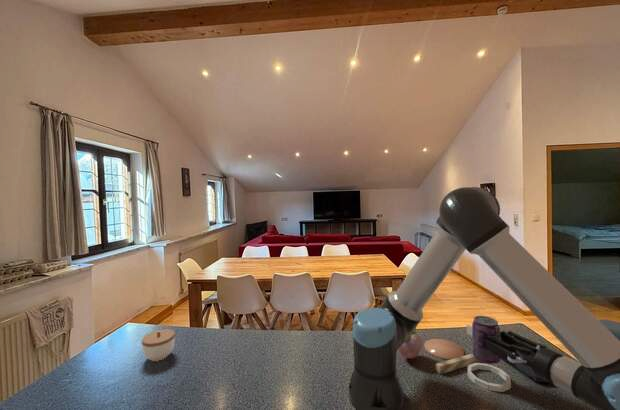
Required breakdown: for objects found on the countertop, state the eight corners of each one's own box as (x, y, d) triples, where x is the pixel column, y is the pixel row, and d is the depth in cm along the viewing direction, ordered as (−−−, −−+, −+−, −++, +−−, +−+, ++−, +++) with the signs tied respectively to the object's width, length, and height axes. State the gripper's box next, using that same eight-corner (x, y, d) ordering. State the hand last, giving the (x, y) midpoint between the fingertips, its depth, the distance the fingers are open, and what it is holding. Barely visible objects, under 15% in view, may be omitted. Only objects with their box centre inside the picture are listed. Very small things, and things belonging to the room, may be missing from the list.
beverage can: (492, 352, 88) (492, 315, 87) (505, 366, 81) (505, 326, 80) (468, 351, 89) (468, 314, 88) (479, 365, 82) (478, 325, 81)
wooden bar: (439, 374, 88) (439, 366, 88) (436, 371, 89) (435, 363, 89) (481, 361, 94) (481, 354, 94) (477, 359, 95) (477, 351, 95)
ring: (504, 397, 77) (504, 392, 77) (460, 377, 86) (460, 372, 86) (516, 380, 84) (516, 375, 84) (474, 363, 93) (474, 358, 93)
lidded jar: (174, 361, 99) (173, 335, 99) (139, 368, 95) (138, 341, 95) (176, 346, 109) (175, 322, 109) (145, 352, 105) (144, 328, 105)
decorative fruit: (400, 348, 103) (400, 321, 103) (424, 354, 99) (423, 327, 98) (392, 361, 96) (392, 332, 95) (417, 368, 91) (417, 338, 91)
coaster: (454, 364, 93) (454, 363, 93) (417, 348, 103) (417, 347, 103) (469, 350, 101) (469, 348, 101) (434, 336, 111) (434, 335, 111)
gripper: (534, 394, 65) (452, 344, 87) (581, 376, 71) (493, 333, 93) (535, 363, 65) (452, 320, 86) (581, 348, 70) (493, 311, 92)
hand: (473, 327), depth 90 cm, fingers closed on beverage can, 5 cm apart
